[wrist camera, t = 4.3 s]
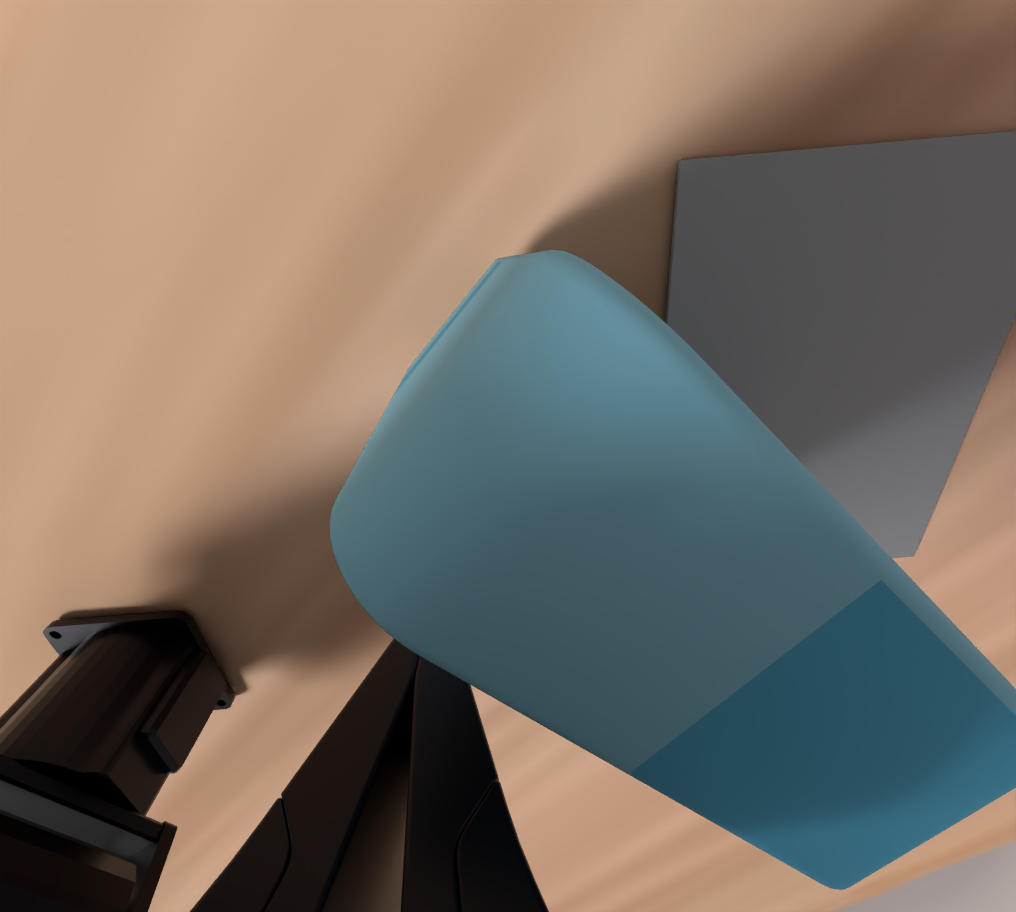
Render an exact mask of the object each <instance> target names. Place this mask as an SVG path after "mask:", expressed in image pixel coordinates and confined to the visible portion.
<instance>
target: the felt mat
mask: <svg viewBox="0 0 1016 912" xmlns="http://www.w3.org/2000/svg"><path fill="white" fill-rule="evenodd" d="M1015 317H1016V131H1007V132H996V133H984V134H973V135H961V136H950V137H938V138H927V139H915V140H904V141H892V142H881V143H870V144H858V145H847V146H835V147H824V148H812V149H801V150H789V151H778V152H766V153H755V154H743V155H732V156H721V157H709V158H698V159H686V160H679V161H678V173H677V185H676V198H675V210H674V222H673V235H672V247H671V260H670V272H669V284H668V297H667V309H666V322H665V323H666V324H667V325H668V326H669V327H670V328H671V329H672V330H674V331H675V332H676V333H677V334H678V335H679V336H680V337H681V338H682V339H683V340H684V341H685V342H686V343H687V344H688V345H689V346H690V347H691V348H692V349H693V350H694V351H695V352H696V353H697V354H698V355H699V356H700V357H701V358H702V359H703V360H704V361H705V362H706V363H707V364H708V365H709V366H710V367H711V368H712V370H713V371H714V372H715V373H716V374H717V375H718V376H719V377H720V378H721V379H722V380H723V381H724V382H725V383H726V384H727V385H728V386H729V387H730V389H731V390H732V391H733V392H734V393H735V394H736V395H737V396H738V397H739V398H740V399H741V400H742V401H743V402H744V403H745V404H746V405H747V406H748V407H749V409H750V410H751V411H752V412H753V413H754V414H755V415H756V416H757V417H758V418H759V419H760V420H761V421H762V422H763V423H764V424H765V425H766V426H767V428H768V429H769V430H770V431H771V432H772V433H773V434H774V435H775V436H776V437H777V438H778V439H779V440H780V441H781V442H782V443H783V444H784V445H785V446H786V448H787V449H788V450H789V451H790V452H791V453H792V454H793V455H794V456H795V457H796V458H797V459H798V460H799V461H800V462H801V463H802V464H803V465H804V466H805V468H806V469H807V470H808V471H809V472H810V473H811V474H812V475H813V476H814V477H815V478H816V479H817V480H818V481H819V482H820V483H821V484H822V485H823V487H824V488H825V489H826V490H827V491H828V492H829V493H830V494H831V495H832V496H833V497H834V498H835V499H836V500H837V501H838V502H839V503H840V504H841V505H842V507H843V508H844V509H845V510H846V511H847V512H848V513H849V514H850V515H851V516H852V517H853V518H854V519H855V520H856V521H857V522H858V523H859V524H860V526H861V527H862V528H863V529H864V530H865V531H866V532H867V533H868V534H869V535H870V536H871V537H872V538H873V539H874V540H875V541H876V542H877V543H878V544H879V546H880V547H881V548H882V549H883V550H884V551H885V552H886V553H887V554H888V555H889V556H890V557H891V558H900V557H912V556H914V555H915V552H916V550H917V548H918V545H919V543H920V541H921V538H922V536H923V534H924V531H925V529H926V526H927V524H928V522H929V519H930V517H931V515H932V512H933V510H934V508H935V505H936V503H937V501H938V498H939V496H940V494H941V491H942V489H943V486H944V484H945V482H946V479H947V477H948V475H949V472H950V470H951V468H952V465H953V463H954V461H955V458H956V456H957V453H958V451H959V449H960V446H961V444H962V442H963V439H964V437H965V435H966V432H967V430H968V428H969V425H970V423H971V420H972V418H973V416H974V413H975V411H976V409H977V406H978V404H979V402H980V399H981V397H982V395H983V392H984V390H985V387H986V385H987V383H988V380H989V378H990V376H991V373H992V371H993V369H994V366H995V364H996V362H997V359H998V357H999V354H1000V352H1001V350H1002V347H1003V345H1004V343H1005V340H1006V338H1007V336H1008V333H1009V331H1010V329H1011V326H1012V324H1013V321H1014V319H1015Z"/></svg>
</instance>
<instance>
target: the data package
mask: <svg viewBox="0 0 1016 912" xmlns="http://www.w3.org/2000/svg"><path fill="white" fill-rule="evenodd" d="M330 539H331V544H332V549H333V553H334V556H335V559H336V562H337V565H338V567H339V569H340V571H341V573H342V576H343V578H344V580H345V581H346V583H347V585H348V586H349V588H350V590H351V591H352V593H353V595H354V596H355V597H356V599H357V600H358V601H359V603H360V604H361V605H362V607H363V608H364V609H365V610H366V611H367V613H368V614H369V615H370V616H371V617H372V618H373V619H374V620H375V621H376V623H378V624H379V625H380V626H381V627H382V628H383V629H384V630H385V631H386V632H387V633H388V634H389V635H391V636H392V637H393V638H394V639H396V640H397V641H398V642H400V643H401V644H402V645H403V646H405V647H407V648H408V649H410V650H411V651H413V652H414V653H416V654H418V655H419V656H421V657H423V658H425V659H426V660H428V661H430V662H432V663H433V664H435V665H437V666H439V667H440V668H442V669H444V670H446V671H447V672H449V673H451V674H453V675H454V676H456V677H458V678H460V679H462V680H463V681H465V682H467V683H469V684H470V685H472V686H474V687H476V688H477V689H479V690H481V691H483V692H484V693H486V694H488V695H490V696H491V697H493V698H495V699H497V700H498V701H500V702H502V703H504V704H506V705H507V706H509V707H511V708H513V709H514V710H516V711H518V712H520V713H521V714H523V715H525V716H527V717H528V718H530V719H532V720H534V721H535V722H537V723H539V724H541V725H543V726H544V727H546V728H548V729H550V730H551V731H553V732H555V733H557V734H558V735H560V736H562V737H564V738H565V739H567V740H569V741H571V742H572V743H574V744H576V745H578V746H580V747H581V748H583V749H585V750H587V751H588V752H590V753H592V754H594V755H595V756H597V757H599V758H601V759H602V760H604V761H606V762H608V763H609V764H611V765H613V766H615V767H617V768H618V769H620V770H622V771H624V772H625V773H627V774H629V775H631V776H632V777H634V778H636V779H638V780H639V781H641V782H643V783H645V784H646V785H648V786H650V787H652V788H654V789H655V790H657V791H659V792H661V793H662V794H664V795H666V796H668V797H669V798H671V799H673V800H675V801H676V802H678V803H680V804H682V805H683V806H685V807H687V808H689V809H690V810H692V811H694V812H696V813H698V814H699V815H701V816H703V817H705V818H706V819H708V820H710V821H712V822H713V823H715V824H717V825H719V826H720V827H722V828H724V829H726V830H727V831H729V832H731V833H733V834H735V835H736V836H738V837H740V838H742V839H743V840H745V841H747V842H749V843H750V844H752V845H754V846H756V847H757V848H759V849H761V850H763V851H764V852H766V853H768V854H770V855H772V856H773V857H775V858H777V859H779V860H780V861H782V862H784V863H786V864H787V865H789V866H791V867H793V868H794V869H796V870H798V871H800V872H801V873H803V874H805V875H807V876H809V877H810V878H812V879H814V880H816V881H817V882H819V883H821V884H823V885H825V886H827V887H829V888H833V889H839V890H843V889H846V888H848V887H850V886H852V885H854V884H855V883H857V882H859V881H860V880H862V879H864V878H865V877H867V876H869V875H870V874H872V873H874V872H876V871H877V870H879V869H881V868H882V867H884V866H886V865H887V864H889V863H891V862H892V861H894V860H896V859H897V858H899V857H901V856H902V855H904V854H906V853H907V852H909V851H911V850H912V849H914V848H916V847H917V846H919V845H921V844H922V843H924V842H926V841H927V840H929V839H931V838H932V837H934V836H936V835H937V834H939V833H941V832H942V831H944V830H946V829H947V828H949V827H951V826H952V825H954V824H956V823H957V822H959V821H961V820H962V819H964V818H966V817H967V816H969V815H971V814H972V813H974V812H976V811H977V810H979V809H981V808H982V807H984V806H986V805H987V804H989V803H991V802H992V801H994V800H996V799H997V798H999V797H1001V796H1002V795H1004V794H1006V793H1007V792H1009V791H1011V790H1012V789H1014V788H1016V689H1015V688H1014V687H1013V686H1012V685H1011V684H1010V683H1009V681H1008V680H1007V679H1006V678H1005V677H1004V676H1003V675H1002V674H1001V673H1000V672H999V671H998V670H997V669H996V668H995V667H994V666H993V665H992V664H991V663H990V661H989V660H988V659H987V658H986V657H985V656H984V655H983V654H982V653H981V652H980V651H979V650H978V649H977V648H976V647H975V646H974V645H973V644H972V642H971V641H970V640H969V639H968V638H967V637H966V636H965V635H964V634H963V633H962V632H961V631H960V630H959V629H958V628H957V627H956V626H955V625H954V624H953V622H952V621H951V620H950V619H949V618H948V617H947V616H946V615H945V614H944V613H943V612H942V611H941V610H940V609H939V608H938V607H937V606H936V605H935V603H934V602H933V601H932V600H931V599H930V598H929V597H928V596H927V595H926V594H925V593H924V592H923V591H922V590H921V589H920V588H919V587H918V586H917V585H916V583H915V582H914V581H913V580H912V579H911V578H910V577H909V576H908V575H907V574H906V573H905V572H904V571H903V570H902V569H901V568H900V567H899V566H898V564H897V563H896V562H895V561H894V560H893V559H892V558H891V557H890V556H889V555H888V554H887V553H886V552H885V551H884V550H883V549H882V548H881V547H880V546H879V544H878V543H877V542H876V541H875V540H874V539H873V538H872V537H871V536H870V535H869V534H868V533H867V532H866V531H865V530H864V529H863V528H862V527H861V526H860V524H859V523H858V522H857V521H856V520H855V519H854V518H853V517H852V516H851V515H850V514H849V513H848V512H847V511H846V510H845V509H844V508H843V507H842V505H841V504H840V503H839V502H838V501H837V500H836V499H835V498H834V497H833V496H832V495H831V494H830V493H829V492H828V491H827V490H826V489H825V488H824V487H823V485H822V484H821V483H820V482H819V481H818V480H817V479H816V478H815V477H814V476H813V475H812V474H811V473H810V472H809V471H808V470H807V469H806V468H805V466H804V465H803V464H802V463H801V462H800V461H799V460H798V459H797V458H796V457H795V456H794V455H793V454H792V453H791V452H790V451H789V450H788V449H787V448H786V446H785V445H784V444H783V443H782V442H781V441H780V440H779V439H778V438H777V437H776V436H775V435H774V434H773V433H772V432H771V431H770V430H769V429H768V428H767V426H766V425H765V424H764V423H763V422H762V421H761V420H760V419H759V418H758V417H757V416H756V415H755V414H754V413H753V412H752V411H751V410H750V409H749V407H748V406H747V405H746V404H745V403H744V402H743V401H742V400H741V399H740V398H739V397H738V396H737V395H736V394H735V393H734V392H733V391H732V390H731V389H730V387H729V386H728V385H727V384H726V383H725V382H724V381H723V380H722V379H721V378H720V377H719V376H718V375H717V374H716V373H715V372H714V371H713V370H712V368H711V367H710V366H709V365H708V364H707V363H706V362H705V361H704V360H703V359H702V358H701V357H700V356H699V355H698V354H697V353H696V352H695V351H694V350H693V349H692V348H691V347H690V346H689V345H688V344H687V343H686V342H685V341H684V340H683V339H682V338H681V337H680V336H679V335H678V334H677V333H676V332H675V331H674V330H672V329H671V328H670V327H669V326H668V325H667V324H666V323H665V322H664V321H663V320H662V319H660V318H659V317H658V316H657V315H656V314H655V313H654V312H652V311H651V310H650V309H649V308H648V307H647V306H646V305H644V304H643V303H642V302H641V301H640V300H638V299H637V298H636V297H635V296H634V295H632V294H631V293H630V292H629V291H627V290H626V289H625V288H623V287H622V286H621V285H620V284H618V283H617V282H616V281H614V280H613V279H612V278H610V277H609V276H608V275H606V274H605V273H603V272H602V271H600V270H599V269H597V268H596V267H595V266H593V265H591V264H590V263H588V262H586V261H585V260H583V259H581V258H579V257H577V256H575V255H573V254H571V253H568V252H566V251H562V250H546V251H540V252H534V253H528V254H522V255H516V256H510V257H504V258H498V259H496V260H495V261H494V262H493V264H492V265H491V266H490V267H489V269H488V270H487V271H486V272H485V274H484V275H483V276H482V277H481V278H480V280H479V281H478V282H477V283H476V285H475V286H474V287H473V288H472V290H471V291H470V292H469V293H468V295H467V296H466V297H465V298H464V300H463V301H462V302H461V303H460V305H459V306H458V307H457V308H456V310H455V311H454V312H453V313H452V315H451V316H450V317H449V318H448V320H447V321H446V322H445V323H444V325H443V326H442V327H441V328H440V329H439V331H438V332H437V333H436V334H435V336H434V337H433V338H432V339H431V341H430V342H429V343H428V344H427V346H426V347H425V348H424V349H423V351H422V352H421V353H420V354H419V356H418V357H417V358H416V359H415V361H414V362H413V363H412V364H411V366H410V367H409V368H408V370H407V372H406V374H405V376H404V377H403V379H402V381H401V383H400V385H399V387H398V388H397V390H396V392H395V394H394V396H393V397H392V399H391V401H390V403H389V405H388V406H387V408H386V410H385V412H384V414H383V415H382V417H381V419H380V421H379V423H378V424H377V426H376V428H375V430H374V432H373V433H372V435H371V437H370V439H369V441H368V443H367V444H366V446H365V448H364V450H363V452H362V453H361V455H360V457H359V459H358V461H357V462H356V464H355V466H354V468H353V470H352V471H351V473H350V475H349V477H348V479H347V480H346V482H345V484H344V486H343V488H342V490H341V491H340V493H339V495H338V497H337V499H336V501H335V503H334V506H333V508H332V511H331V518H330Z"/></svg>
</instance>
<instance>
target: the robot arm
mask: <svg viewBox="0 0 1016 912" xmlns="http://www.w3.org/2000/svg"><path fill="white" fill-rule="evenodd" d="M43 634H44V636H45V637H46V638H47V640H48V641H49V642H50V644H51V645H52V646H53V648H54V649H55V650H56V651H57V653H58V654H59V655H60V656H59V657H58V658H57V659H56V660H55V661H54V662H53V663H52V664H51V665H50V666H49V667H48V668H47V670H46V671H45V672H44V673H43V674H42V675H41V676H40V677H39V678H38V679H37V680H36V681H35V682H34V683H33V684H32V685H31V686H30V687H29V688H28V689H27V690H26V691H25V692H24V693H23V694H22V695H21V696H20V698H19V699H18V700H17V701H16V702H15V703H14V704H13V705H12V706H11V707H10V708H9V709H8V710H7V711H6V712H5V713H4V714H3V715H2V716H1V717H0V912H148V909H149V907H150V904H151V901H152V898H153V895H154V892H155V890H156V887H157V884H158V881H159V878H160V876H161V873H162V870H163V867H164V864H165V862H166V859H167V856H168V853H169V850H170V847H171V845H172V842H173V839H174V836H175V833H176V831H177V826H175V825H173V824H171V823H168V822H166V821H165V822H163V823H160V822H158V821H156V820H153V819H151V818H149V817H146V814H147V812H148V810H149V809H150V807H151V805H152V803H153V802H154V800H155V798H156V796H157V795H158V793H159V791H160V789H161V788H162V786H163V784H164V782H165V781H166V779H167V777H168V775H169V774H171V773H176V772H177V771H178V770H179V769H180V768H181V767H182V765H183V764H184V762H185V760H186V758H187V756H188V755H189V753H190V751H191V749H192V747H193V746H194V744H195V742H196V740H197V738H198V737H199V735H200V733H201V731H202V729H203V728H204V726H205V724H206V722H207V720H208V719H209V717H210V715H211V713H212V711H213V710H219V709H227V708H229V707H231V705H232V703H233V701H234V699H235V695H234V693H233V691H232V689H231V687H230V685H229V684H228V682H227V680H226V678H225V676H224V675H223V673H222V671H221V669H220V667H219V665H218V664H217V662H216V660H215V658H214V656H213V654H212V653H211V651H210V649H209V647H208V645H207V643H206V642H205V640H204V638H203V636H202V634H201V632H200V631H199V629H198V627H197V625H196V623H195V622H194V620H193V618H192V617H191V615H189V614H188V613H186V612H183V611H168V612H155V613H143V614H130V615H117V616H105V617H92V618H80V619H67V620H56V621H53V622H52V623H51V624H50V625H49V626H48V627H46V628H45V629H44V631H43ZM281 796H282V798H278V799H277V800H276V801H275V803H274V804H273V806H272V807H271V808H270V810H269V811H268V812H267V814H266V815H265V817H264V818H263V819H262V821H261V822H260V823H259V825H258V826H257V827H256V829H255V830H254V831H253V833H252V834H251V835H250V837H249V838H248V839H247V841H246V842H245V843H244V845H243V846H242V847H241V849H240V850H239V851H238V853H237V854H236V855H235V857H234V858H233V859H232V860H231V862H230V863H229V864H228V865H227V867H226V868H225V869H224V870H223V872H222V873H221V874H220V875H219V877H218V878H217V879H216V880H215V881H214V883H213V884H212V885H211V886H210V888H209V889H208V890H207V891H206V892H205V894H204V895H203V896H202V897H201V899H200V900H199V901H198V902H197V904H196V905H195V906H194V907H193V908H192V910H191V911H190V912H549V911H548V908H547V906H546V904H545V902H544V899H543V897H542V895H541V893H540V890H539V888H538V886H537V884H536V881H535V879H534V876H533V874H532V871H531V869H530V867H529V864H528V862H527V859H526V857H525V854H524V852H523V849H522V847H521V845H520V842H519V839H518V836H517V833H516V830H515V827H514V824H513V821H512V818H511V816H510V813H509V810H508V807H507V803H506V800H505V797H504V793H503V790H502V787H501V784H500V782H499V778H498V774H497V771H496V768H495V765H494V761H493V758H492V755H491V751H490V748H489V745H488V741H487V738H486V735H485V732H484V728H483V725H482V722H481V718H480V715H479V712H478V708H477V705H476V702H475V699H474V695H473V692H472V689H471V685H470V684H469V683H467V682H465V681H463V680H462V679H460V678H458V677H456V676H454V675H453V674H451V673H449V672H447V671H446V670H444V669H442V668H440V667H439V666H437V665H435V664H433V663H432V662H430V661H428V660H426V659H425V658H423V657H421V656H419V655H418V654H416V653H414V652H413V651H411V650H410V649H408V648H407V647H405V646H403V645H402V644H401V643H400V642H398V641H397V640H396V639H393V640H392V642H391V643H390V645H389V646H388V647H387V649H386V650H385V651H384V653H383V654H382V656H381V657H380V658H379V660H378V661H377V662H376V664H375V665H374V667H373V668H372V669H371V671H370V672H369V674H368V675H367V676H366V678H365V679H364V680H363V682H362V683H361V685H360V686H359V687H358V689H357V690H356V691H355V693H354V694H353V696H352V697H351V698H350V700H349V701H348V702H347V704H346V705H345V707H344V708H343V709H342V711H341V712H340V713H339V715H338V716H337V718H336V719H335V720H334V722H333V723H332V725H331V726H330V727H329V729H328V730H327V731H326V733H325V734H324V736H323V737H322V738H321V740H320V741H319V742H318V744H317V745H316V747H315V748H314V749H313V751H312V752H311V753H310V755H309V756H308V758H307V759H306V760H305V762H304V763H303V765H302V766H301V767H300V769H299V770H298V771H297V773H296V774H295V776H294V777H293V778H292V780H291V781H290V782H289V784H288V785H287V787H286V788H285V789H284V791H283V792H282V794H281Z"/></svg>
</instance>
